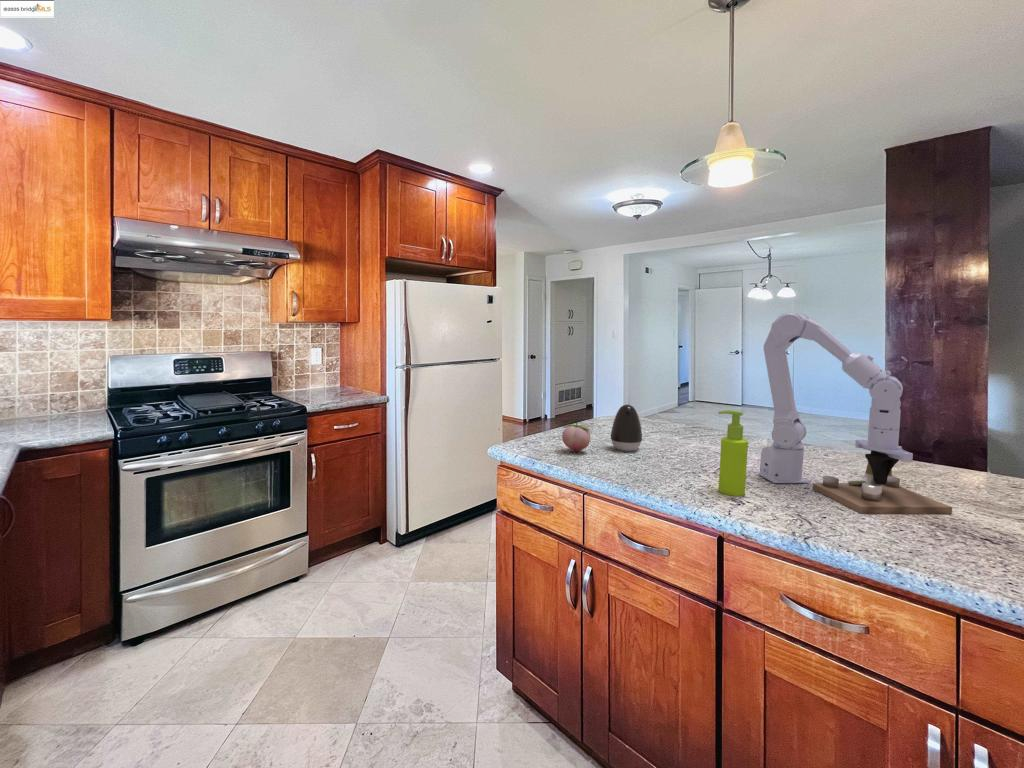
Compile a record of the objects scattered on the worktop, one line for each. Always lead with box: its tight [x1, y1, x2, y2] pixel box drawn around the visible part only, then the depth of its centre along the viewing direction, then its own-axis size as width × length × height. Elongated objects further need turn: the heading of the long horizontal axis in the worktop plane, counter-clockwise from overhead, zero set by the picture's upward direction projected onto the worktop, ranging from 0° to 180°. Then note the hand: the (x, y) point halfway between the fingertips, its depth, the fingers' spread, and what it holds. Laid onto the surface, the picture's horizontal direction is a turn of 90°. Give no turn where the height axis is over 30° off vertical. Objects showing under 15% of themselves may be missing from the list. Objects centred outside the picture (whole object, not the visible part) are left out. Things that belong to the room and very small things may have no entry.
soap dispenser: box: [717, 409, 749, 497], centre depth 114 cm, size 6×7×20 cm
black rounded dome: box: [610, 404, 643, 452], centre depth 155 cm, size 10×10×15 cm
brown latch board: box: [812, 475, 953, 515], centre depth 109 cm, size 20×16×4 cm
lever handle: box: [861, 473, 882, 501], centre depth 110 cm, size 12×4×3 cm, turn 146°
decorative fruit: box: [561, 421, 591, 453], centre depth 152 cm, size 9×8×10 cm
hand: (879, 484), depth 112 cm, fingers closed, pressing on lever handle
